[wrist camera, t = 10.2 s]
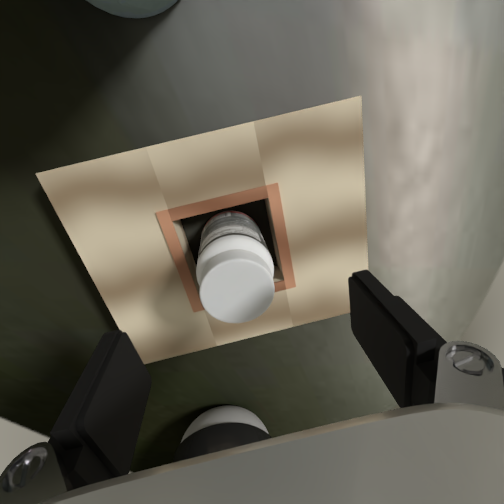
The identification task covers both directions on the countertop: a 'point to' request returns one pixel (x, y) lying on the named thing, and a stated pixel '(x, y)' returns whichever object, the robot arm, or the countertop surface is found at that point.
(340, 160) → the socket plate
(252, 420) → the dark rounded oval
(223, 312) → the pill bottle
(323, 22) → the countertop surface
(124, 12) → the blue green cup
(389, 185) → the countertop surface
